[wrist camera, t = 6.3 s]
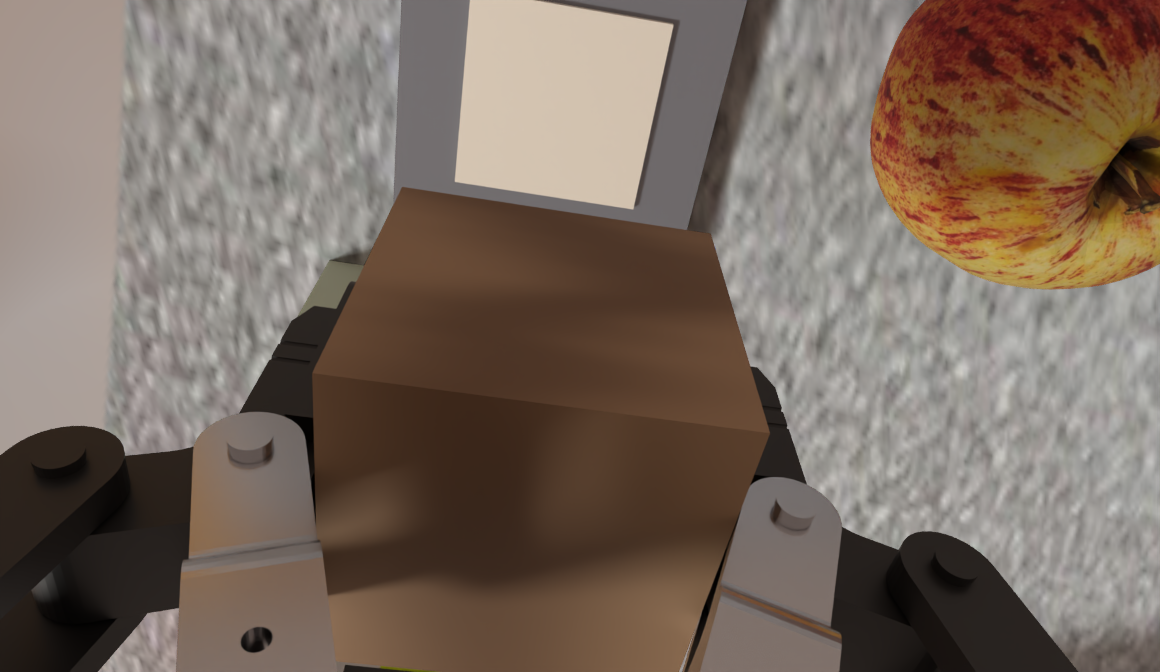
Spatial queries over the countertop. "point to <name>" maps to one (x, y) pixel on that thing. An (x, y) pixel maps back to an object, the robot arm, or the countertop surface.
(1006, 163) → the apple
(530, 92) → the build board
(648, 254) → the walnut block
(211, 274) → the countertop surface
